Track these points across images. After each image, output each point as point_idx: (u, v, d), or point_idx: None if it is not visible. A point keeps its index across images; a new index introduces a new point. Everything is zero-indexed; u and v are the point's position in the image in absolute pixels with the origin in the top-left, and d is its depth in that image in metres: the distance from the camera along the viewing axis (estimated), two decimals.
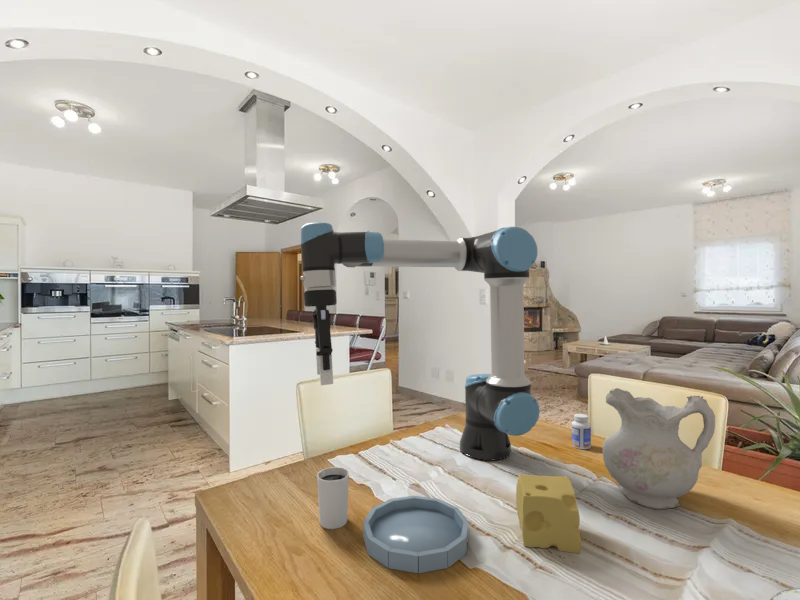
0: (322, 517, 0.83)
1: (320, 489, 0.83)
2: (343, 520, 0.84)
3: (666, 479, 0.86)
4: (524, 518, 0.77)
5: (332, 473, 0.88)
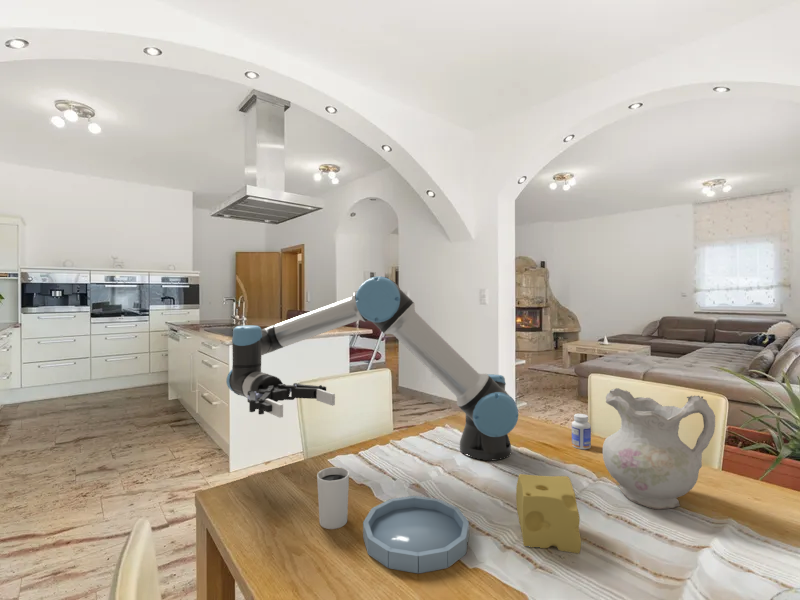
0: (322, 517, 0.83)
1: (320, 489, 0.83)
2: (343, 520, 0.84)
3: (666, 479, 0.86)
4: (524, 518, 0.77)
5: (332, 473, 0.88)
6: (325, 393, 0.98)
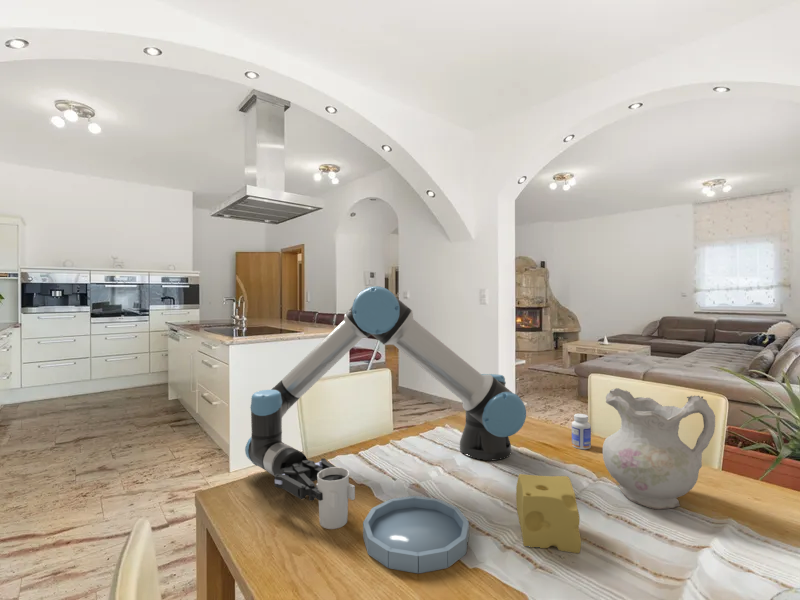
0: (322, 517, 0.83)
1: (320, 489, 0.83)
2: (343, 520, 0.84)
3: (666, 479, 0.86)
4: (524, 518, 0.77)
5: (332, 473, 0.88)
6: None
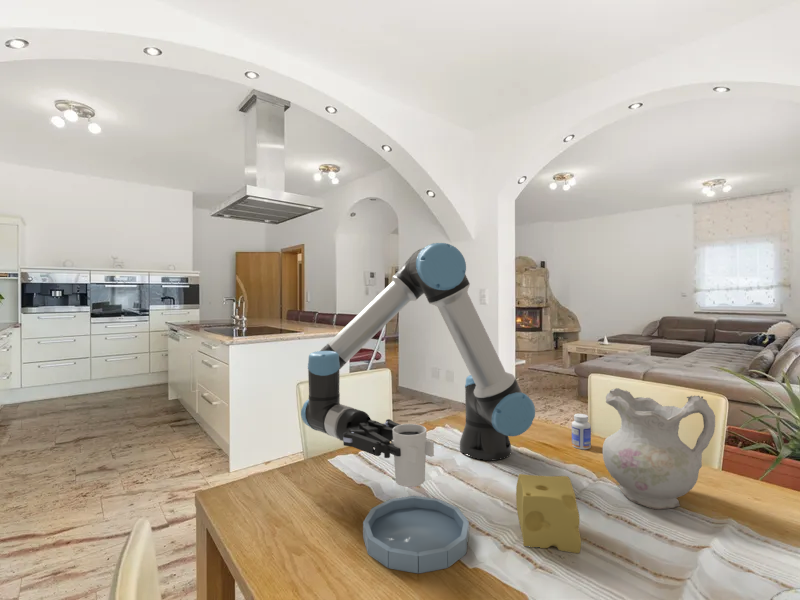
0: (400, 475, 0.78)
1: (398, 444, 0.77)
2: (422, 478, 0.78)
3: (666, 479, 0.86)
4: (524, 518, 0.77)
5: (406, 429, 0.83)
6: None
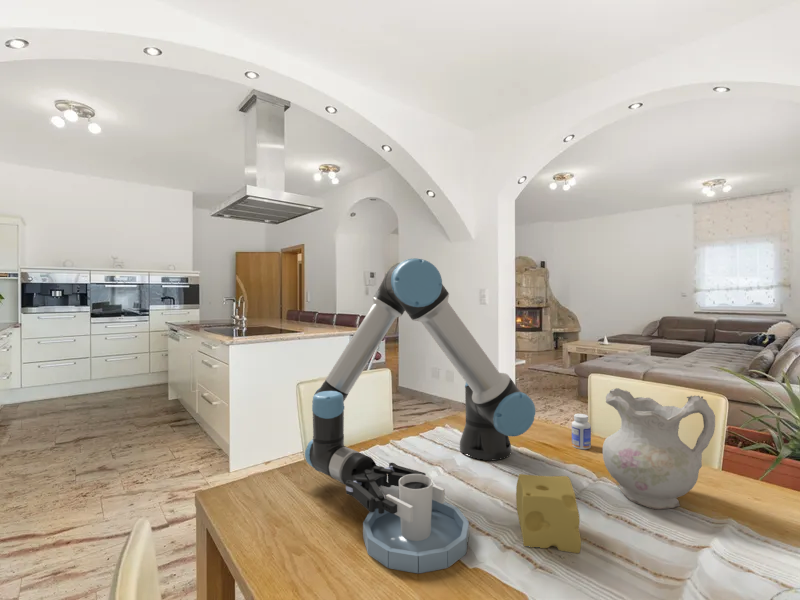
0: (406, 528, 0.78)
1: (404, 498, 0.78)
2: (428, 531, 0.78)
3: (666, 479, 0.86)
4: (524, 518, 0.77)
5: (412, 480, 0.83)
6: None
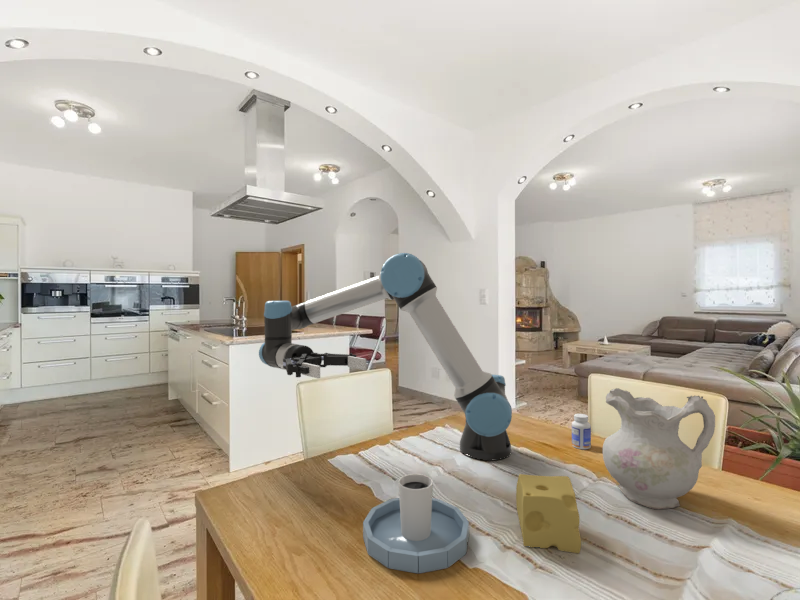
0: (406, 528, 0.78)
1: (404, 498, 0.78)
2: (428, 531, 0.78)
3: (666, 479, 0.86)
4: (524, 518, 0.77)
5: (412, 480, 0.83)
6: (356, 359, 1.03)
